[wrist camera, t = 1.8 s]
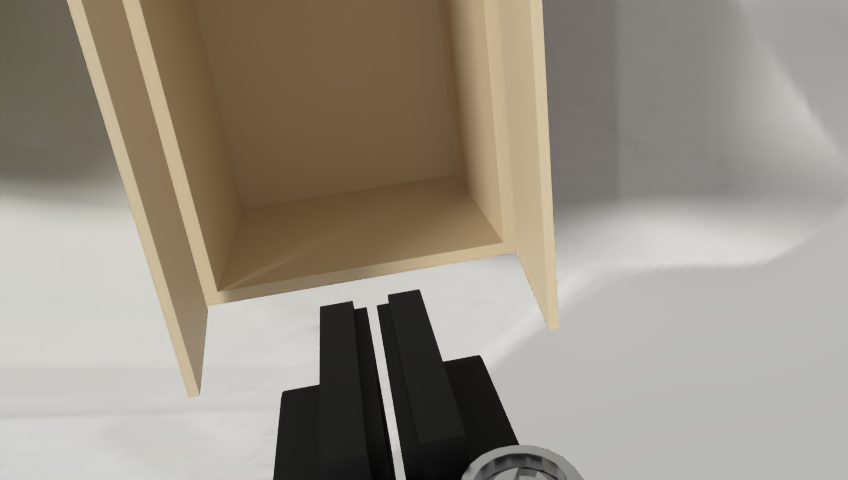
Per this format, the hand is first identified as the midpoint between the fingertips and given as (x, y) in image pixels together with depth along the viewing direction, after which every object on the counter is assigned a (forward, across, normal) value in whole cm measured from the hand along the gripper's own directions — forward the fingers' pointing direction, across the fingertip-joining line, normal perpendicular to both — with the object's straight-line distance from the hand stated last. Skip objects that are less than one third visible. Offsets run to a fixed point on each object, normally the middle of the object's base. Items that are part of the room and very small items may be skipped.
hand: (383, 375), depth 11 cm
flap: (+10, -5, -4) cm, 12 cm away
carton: (+24, 0, -4) cm, 24 cm away
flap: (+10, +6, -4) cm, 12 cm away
